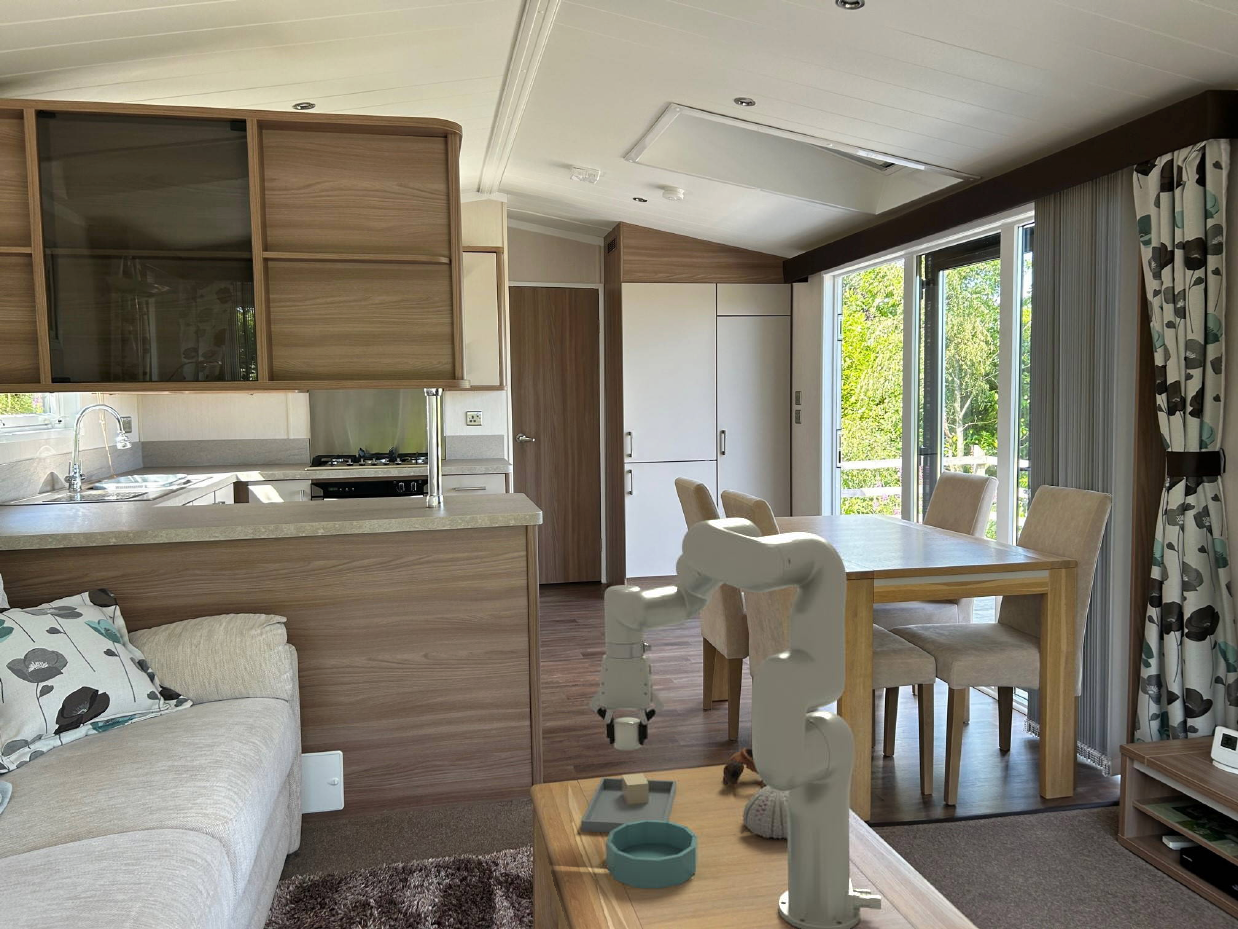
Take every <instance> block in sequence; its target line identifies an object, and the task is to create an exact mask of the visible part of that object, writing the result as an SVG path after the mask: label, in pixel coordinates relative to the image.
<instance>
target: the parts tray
mask: <svg viewBox="0 0 1238 929" xmlns="http://www.w3.org/2000/svg"><path fill="white" fill-rule="evenodd" d="M646 780H647V782H648V789H649V803H639V804H629V805H628V804H627V802H626V800H625V798H624V796H623V794H622V777H621V778H620V777H601V779H600V780H599V782H598V784H597V785H598V786H597V787H596V789H595V791H594V793H593V795H592V798H591V800H590V802H589V803H588V806H587V808H586V810H585V813H584V815H583V817H582V818H581V820H580V821H581V823H580V825H581V826H580V827H581V830H580V831H581V832H590V833H591V832H592V833H593V832H594V833H610V831H612V830H614V829H616V828H617V827H619V826H621V825H623V824H625V823H630V822H636V821H641V820H662V821H670V816H671V814H672V809H673V805H674V802H675V797H676V794H677V790H678V789H677V780H668V779H667V780H666V779H665V780H664V779H647V778H646Z"/></svg>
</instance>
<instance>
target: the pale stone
mask: <svg viewBox="0 0 1238 929" xmlns="http://www.w3.org/2000/svg"><path fill="white" fill-rule="evenodd" d="M640 720H641V719H640V718H636V717H629V716H627V717H620V718H619V717H618V718H617V719H615V720H614V744H613V745H614V747H613V748H615V749H616V750H620V751H634V750H637V749H640V748H641V747H642V745H640V744H639V724H640Z"/></svg>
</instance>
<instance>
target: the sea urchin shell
mask: <svg viewBox="0 0 1238 929" xmlns="http://www.w3.org/2000/svg"><path fill="white" fill-rule="evenodd" d="M788 792H789V791H778V790H775V789H772V788H771V787H769V786H768V785H765V787H763V788H759V790H757V791H756V792H755V793H754V794H753V795H752V796H751V798H748V801H747V802H746V804H745V805H744V808H743V815H742V818H743V819H742V821H743V822H744V826H745V827H747V830H749V831H751V832H753V834H755V835H759V836H762V837H763V838H774V839H779V840H781V839H782V838H784V839H786V840H788V830H787V803H788Z"/></svg>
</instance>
